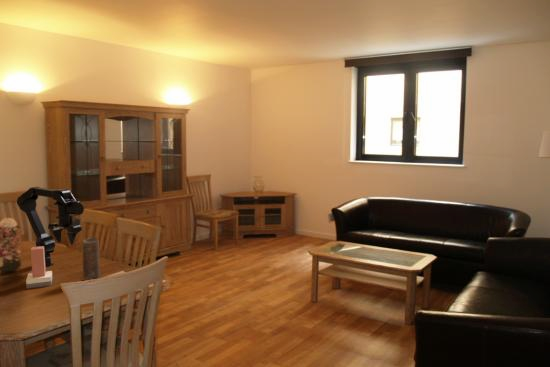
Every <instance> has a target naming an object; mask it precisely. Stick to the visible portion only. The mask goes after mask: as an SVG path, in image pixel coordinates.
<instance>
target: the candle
mask: <svg viewBox="0 0 550 367" xmlns="http://www.w3.org/2000/svg"><path fill="white" fill-rule="evenodd" d="M99 244H100V243H99V238H97V237H88V238H85V239H83V240H82V243H81V245H82V280H83V281H86V280H90V279H96V280H98V279H97V278H99V279H100V276H101V275H100V274H101V273H100V271H101V268H100V245H99Z"/></svg>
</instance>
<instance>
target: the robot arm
mask: <svg viewBox="0 0 550 367" xmlns="http://www.w3.org/2000/svg"><path fill="white" fill-rule="evenodd" d="M39 197H45V198H51V199H52V200H54V201H55V202H54V203H53V205H54V206H57V215H56V217H55V218H56V219H57V222H56V221H55V222H52V223H51V222H50V223H49V224H48V226H47V229H48V230H49V231H50V232H51V234H52V235H53V236H52V235H49V234H47V232H46V229H45V228H44V225H43V222H42V220H41V218H40V216H39V214H38V211H37V200H38V199H39ZM16 204H17V206H18V207H19V208H18V209H20V210H21V211H22V212H23V213H25V215H26V217H27V219H28V221H29V224H30V226H31V228H32V231H33V233H34V236H35V237H36V239H35V247H40V246H44V252H45V268H47V267H50V266H53V265H54V262H53V263H52V258H51V253H53V254H54V251H55V248H56V241H57V243H59V244H60V243H62V233H63V232H62V231H63V230H66V231H67V232H66V233H67V237H68V241H69V244H70V246H72V245H74V243H75V240H76V236H77V234H78V233H80V232H82V231H83V227H82V225H81V221H82V220H81V219H79V218H76V217H75V218H74V216H75V215H76V216H81V215H82V214H83V213H84V211H85V208H84V205H83V204H82V203H81V201H79V200H78V201H77V200H76V198H75V197H74V195H73V194H72V191H71V189H69V188H61V189H59V188H58V189H52V188H46V187H40V186H33V187H29V188H28V189H27V190H26V191H25V192H23V193H22V194H21V195H20V196H18V197H17V199H16ZM73 215H74V216H73ZM54 238H55V239H56V241H55V239H54Z"/></svg>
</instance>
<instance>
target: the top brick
mask: <svg viewBox="0 0 550 367" xmlns="http://www.w3.org/2000/svg"><path fill="white" fill-rule="evenodd" d="M30 257H31V273H32V276H33V277H42V276H45V274H46V271H47V270H46V268H47V267H45V252H44V246H40V247H36V246H32V247H31V248H30Z"/></svg>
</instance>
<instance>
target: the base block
mask: <svg viewBox="0 0 550 367" xmlns="http://www.w3.org/2000/svg"><path fill="white" fill-rule="evenodd" d="M25 280H26V281H25V282H26V283H25V284H26V289H33V288H42V287H49V286H52V284H53V270H46V274H45V276H42V277H33V276H32V272H30V273H27V277H26V279H25Z"/></svg>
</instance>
